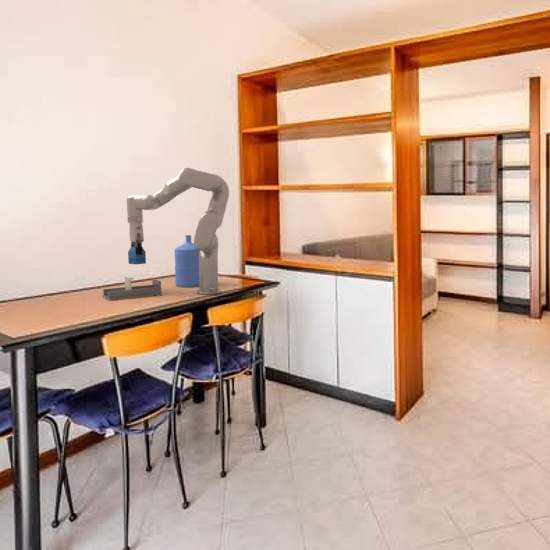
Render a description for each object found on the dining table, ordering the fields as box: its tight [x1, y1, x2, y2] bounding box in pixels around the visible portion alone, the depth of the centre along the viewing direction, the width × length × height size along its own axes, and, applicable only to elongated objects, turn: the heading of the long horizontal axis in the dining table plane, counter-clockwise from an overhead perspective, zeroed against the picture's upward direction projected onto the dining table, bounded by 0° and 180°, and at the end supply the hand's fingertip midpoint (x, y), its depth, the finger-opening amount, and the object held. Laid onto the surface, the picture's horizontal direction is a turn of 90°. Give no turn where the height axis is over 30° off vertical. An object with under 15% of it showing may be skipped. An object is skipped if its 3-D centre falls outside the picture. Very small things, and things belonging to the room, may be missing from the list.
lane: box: [102, 278, 163, 301], centre depth 258 cm, size 12×26×7 cm, turn 122°
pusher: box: [124, 275, 135, 290], centre depth 257 cm, size 7×2×8 cm, turn 32°
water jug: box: [174, 234, 200, 288], centre depth 289 cm, size 16×16×28 cm
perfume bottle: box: [127, 242, 147, 265], centre depth 269 cm, size 6×6×12 cm
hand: (136, 253), depth 269 cm, fingers closed on perfume bottle, 7 cm apart
